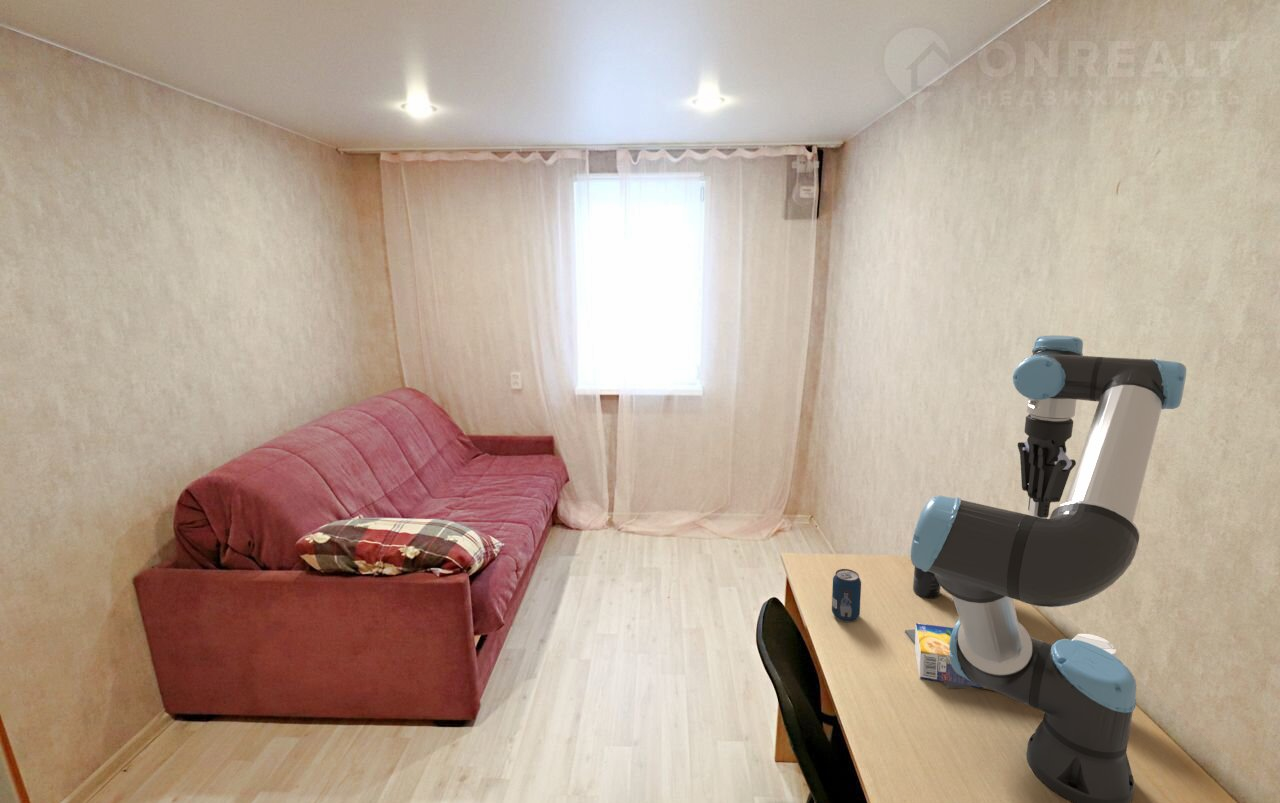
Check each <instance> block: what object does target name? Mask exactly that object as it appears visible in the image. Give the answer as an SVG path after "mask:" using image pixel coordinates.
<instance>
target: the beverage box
mask: <svg viewBox="0 0 1280 803" xmlns="http://www.w3.org/2000/svg"><path fill="white" fill-rule="evenodd" d="M953 628H954V627H950V626H949V627H948V626H943V625H942V626H940V625H934V624H926V623H919V622H918V623H917V622H915V629H914V630H915V644H914V651H915V657H916V663H917V670H918V671H917V672H918V676H919V679H920V680H925V681H932V682H938V683H944V680H945V681H950V682H956V683H961V684H967V685H972V686H971V687H976V688H977V689H984V690H991V691H993V690H992V689H989V688H987V687H984V686H982V685H980V684H975V683H972V682H970V681H969V680H967V679H966V678H964V677H962V676H960V675H959V674H957V673H956V672H955V671H954V669H953V667H952V665H951V662H950V657H949V654H950V650H949V645H950V638H951V634H952V631H953ZM976 688H975V689H976Z"/></svg>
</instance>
